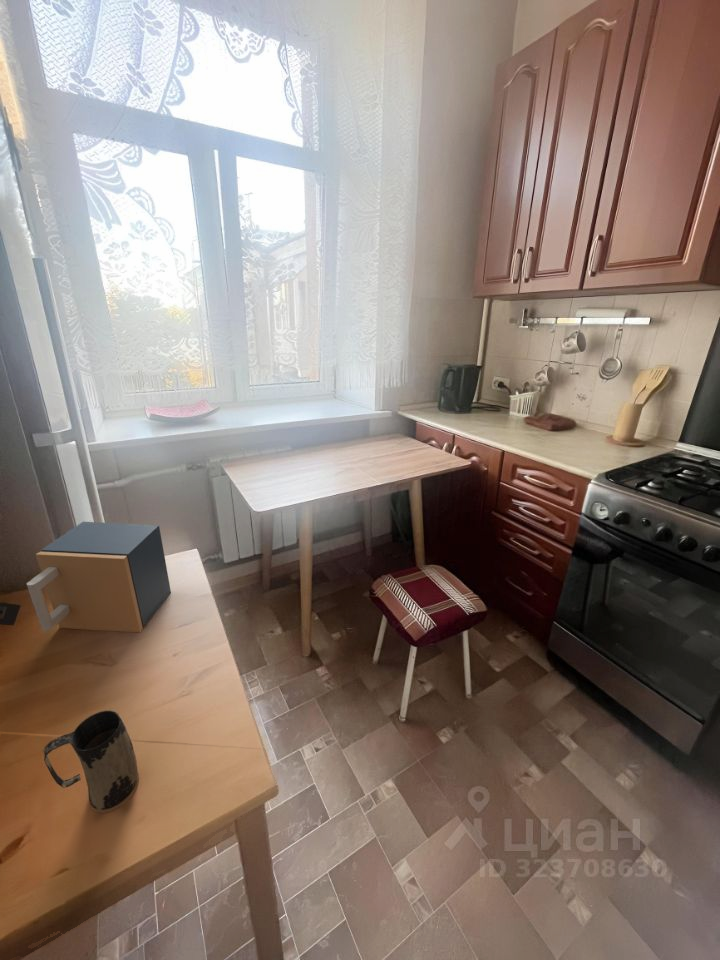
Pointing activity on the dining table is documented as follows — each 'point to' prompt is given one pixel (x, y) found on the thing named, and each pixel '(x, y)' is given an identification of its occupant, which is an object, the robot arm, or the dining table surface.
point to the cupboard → (125, 541)
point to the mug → (101, 760)
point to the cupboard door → (85, 592)
